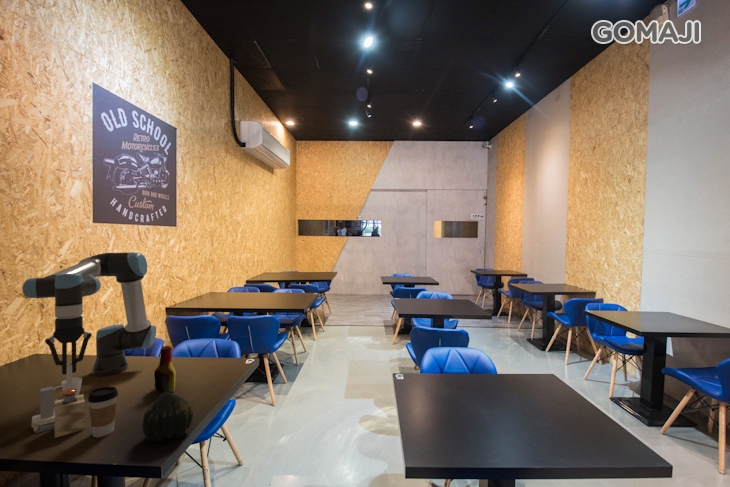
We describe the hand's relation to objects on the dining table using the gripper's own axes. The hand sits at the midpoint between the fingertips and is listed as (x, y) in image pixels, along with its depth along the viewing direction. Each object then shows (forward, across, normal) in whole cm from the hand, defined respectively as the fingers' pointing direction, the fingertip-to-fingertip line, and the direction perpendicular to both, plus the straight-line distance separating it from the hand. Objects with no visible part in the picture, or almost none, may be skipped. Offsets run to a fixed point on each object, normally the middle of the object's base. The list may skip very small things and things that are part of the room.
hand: (69, 382), depth 123 cm
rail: (+17, +6, -14) cm, 23 cm away
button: (+10, 0, 0) cm, 10 cm away
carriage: (+17, +6, -10) cm, 20 cm away
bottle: (+17, -33, -14) cm, 40 cm away
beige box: (+17, 0, 0) cm, 17 cm away
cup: (+17, 0, -31) cm, 35 cm away
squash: (+17, -25, +29) cm, 42 cm away
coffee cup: (+17, -9, +11) cm, 22 cm away
